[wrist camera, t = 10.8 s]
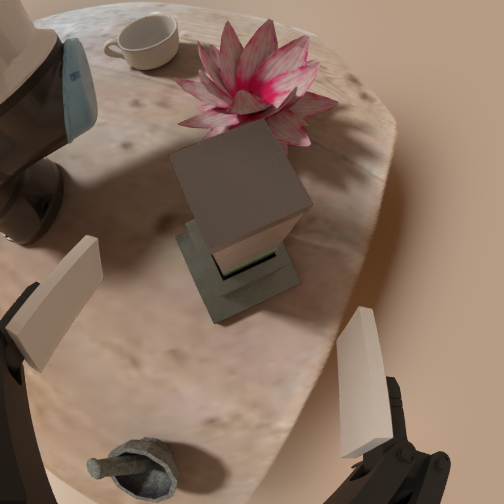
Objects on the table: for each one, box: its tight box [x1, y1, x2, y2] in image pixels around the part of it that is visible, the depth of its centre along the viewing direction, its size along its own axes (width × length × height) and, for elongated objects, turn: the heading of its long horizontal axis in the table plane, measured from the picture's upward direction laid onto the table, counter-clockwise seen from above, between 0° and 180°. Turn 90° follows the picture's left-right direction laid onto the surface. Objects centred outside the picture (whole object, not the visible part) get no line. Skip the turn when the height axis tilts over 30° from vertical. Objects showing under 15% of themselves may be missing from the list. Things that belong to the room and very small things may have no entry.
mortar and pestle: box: [87, 437, 180, 503], centre depth 27 cm, size 11×9×12 cm
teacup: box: [103, 14, 179, 70], centre depth 39 cm, size 14×11×8 cm
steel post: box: [168, 118, 313, 279], centre depth 21 cm, size 4×4×20 cm
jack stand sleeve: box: [175, 219, 301, 324], centre depth 31 cm, size 12×12×13 cm
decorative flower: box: [172, 19, 338, 156], centre depth 34 cm, size 21×21×15 cm
